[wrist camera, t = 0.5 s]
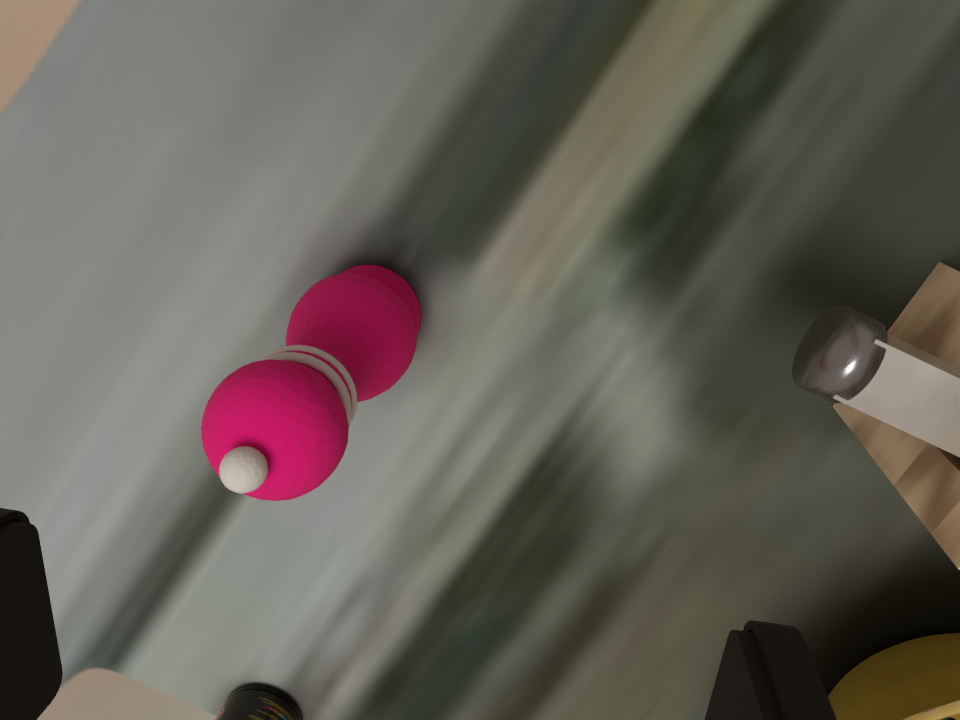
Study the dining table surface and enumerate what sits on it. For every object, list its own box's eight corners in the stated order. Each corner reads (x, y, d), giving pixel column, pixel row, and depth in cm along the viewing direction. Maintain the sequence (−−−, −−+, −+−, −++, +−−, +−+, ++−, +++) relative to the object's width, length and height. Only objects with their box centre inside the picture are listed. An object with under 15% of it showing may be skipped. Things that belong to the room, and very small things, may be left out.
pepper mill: (300, 333, 46) (119, 509, 28) (342, 235, 43) (171, 358, 25) (401, 384, 46) (288, 590, 28) (448, 290, 44) (358, 452, 25)
